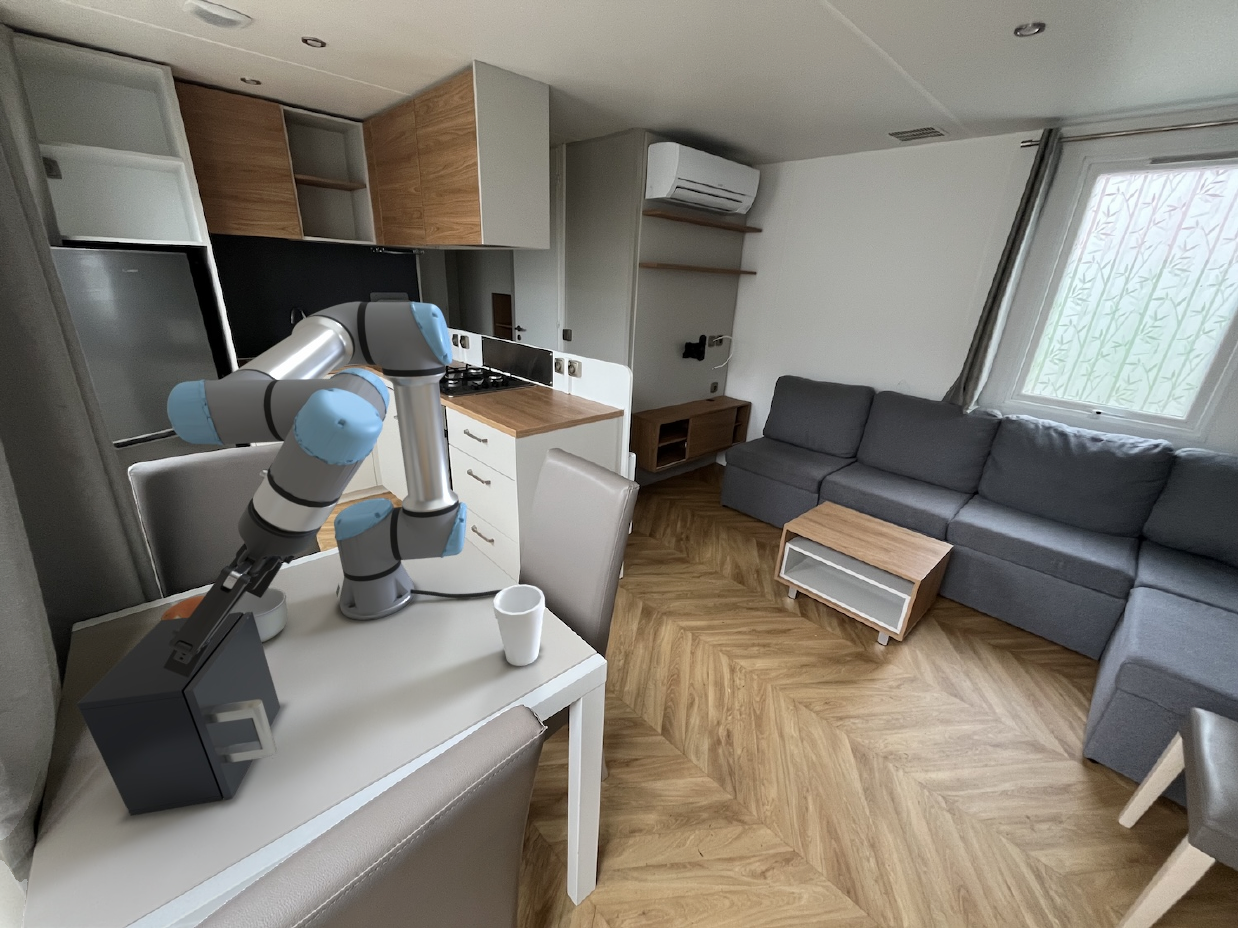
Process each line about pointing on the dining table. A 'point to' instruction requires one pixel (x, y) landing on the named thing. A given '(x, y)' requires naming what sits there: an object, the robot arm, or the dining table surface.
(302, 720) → the dining table surface
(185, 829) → the dining table surface
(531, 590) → the foam cup
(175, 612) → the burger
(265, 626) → the teacup
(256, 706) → the fridge door
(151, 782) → the fridge
